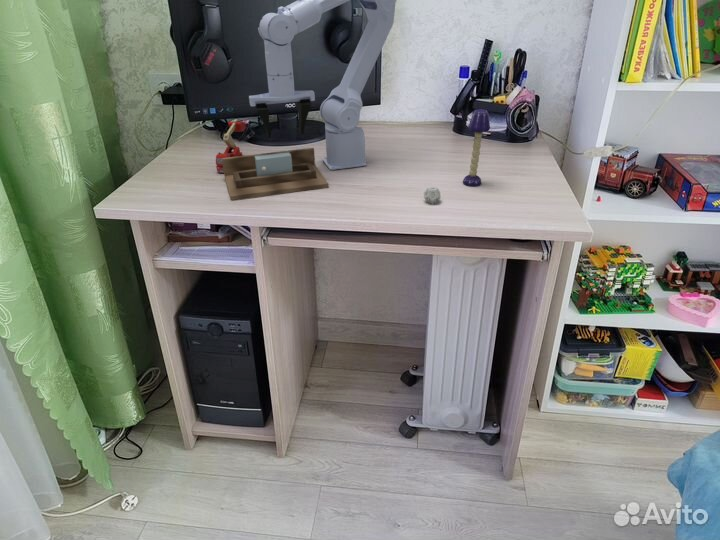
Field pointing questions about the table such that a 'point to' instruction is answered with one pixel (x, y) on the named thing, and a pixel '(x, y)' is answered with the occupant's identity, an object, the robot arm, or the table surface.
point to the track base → (272, 176)
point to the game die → (432, 195)
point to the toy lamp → (476, 144)
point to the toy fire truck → (230, 144)
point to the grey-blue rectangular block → (273, 164)
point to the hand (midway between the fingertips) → (285, 134)
